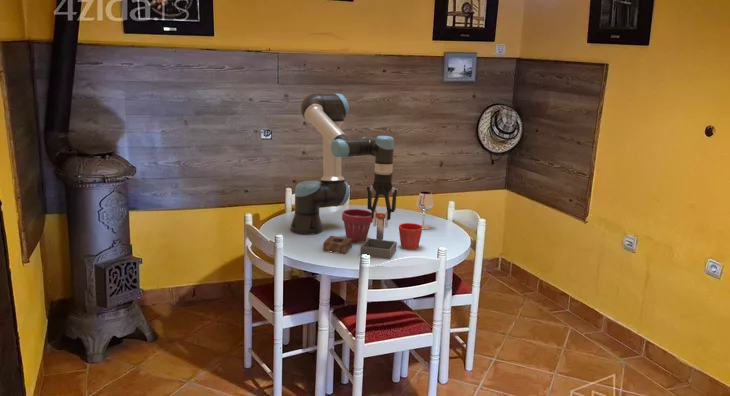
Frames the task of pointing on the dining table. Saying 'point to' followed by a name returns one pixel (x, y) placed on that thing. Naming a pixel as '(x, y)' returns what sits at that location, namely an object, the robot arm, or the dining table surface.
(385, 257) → the tray
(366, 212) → the plant pot
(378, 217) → the lock pin
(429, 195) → the wineglass
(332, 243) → the pin block
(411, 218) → the dining table surface
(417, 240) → the flower pot
